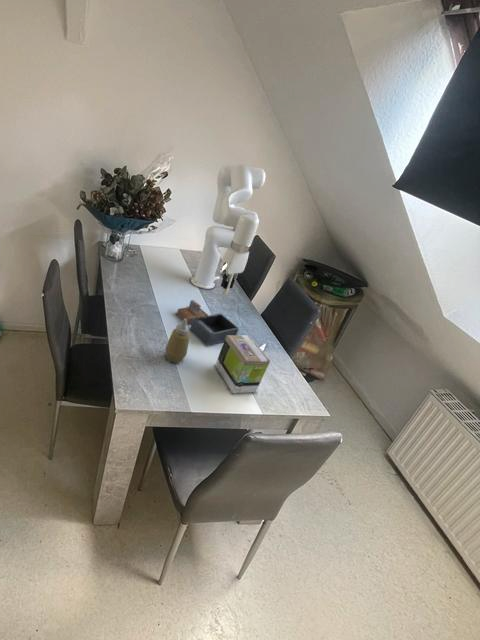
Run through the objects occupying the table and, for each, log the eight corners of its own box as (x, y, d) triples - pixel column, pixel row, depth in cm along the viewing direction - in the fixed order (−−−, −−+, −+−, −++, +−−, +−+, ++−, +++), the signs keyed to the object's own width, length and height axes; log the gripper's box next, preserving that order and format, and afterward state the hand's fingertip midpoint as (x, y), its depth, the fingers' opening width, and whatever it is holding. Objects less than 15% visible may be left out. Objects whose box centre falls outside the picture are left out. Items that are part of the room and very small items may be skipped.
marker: (224, 291, 163) (233, 263, 157) (228, 294, 162) (238, 266, 155) (220, 291, 162) (229, 264, 156) (224, 294, 160) (233, 266, 154)
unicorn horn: (273, 349, 162) (277, 340, 159) (250, 373, 145) (254, 364, 143) (263, 343, 164) (267, 334, 162) (238, 367, 148) (242, 357, 145)
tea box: (256, 392, 137) (271, 361, 129) (231, 393, 134) (245, 361, 126) (237, 364, 149) (250, 334, 141) (214, 365, 146) (225, 334, 139)
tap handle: (188, 308, 173) (190, 299, 171) (190, 308, 174) (193, 299, 171) (195, 315, 169) (198, 306, 167) (198, 314, 170) (201, 305, 168)
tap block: (194, 309, 179) (196, 304, 178) (207, 321, 172) (209, 315, 171) (175, 313, 174) (177, 307, 172) (188, 325, 167) (190, 319, 166)
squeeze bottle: (179, 368, 141) (191, 329, 132) (159, 358, 145) (170, 319, 135) (187, 357, 148) (199, 319, 138) (168, 348, 151) (179, 310, 141)
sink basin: (217, 323, 172) (220, 313, 169) (234, 339, 164) (238, 328, 161) (189, 329, 165) (193, 318, 162) (206, 345, 156) (210, 334, 153)
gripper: (247, 241, 158) (234, 281, 167) (218, 243, 150) (206, 284, 159) (261, 249, 152) (246, 289, 162) (231, 251, 145) (217, 293, 154)
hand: (226, 286), depth 160 cm, fingers closed on marker, 2 cm apart
